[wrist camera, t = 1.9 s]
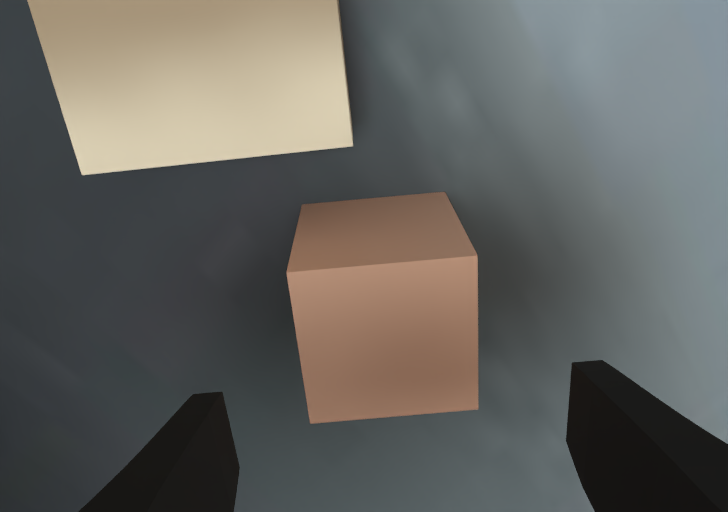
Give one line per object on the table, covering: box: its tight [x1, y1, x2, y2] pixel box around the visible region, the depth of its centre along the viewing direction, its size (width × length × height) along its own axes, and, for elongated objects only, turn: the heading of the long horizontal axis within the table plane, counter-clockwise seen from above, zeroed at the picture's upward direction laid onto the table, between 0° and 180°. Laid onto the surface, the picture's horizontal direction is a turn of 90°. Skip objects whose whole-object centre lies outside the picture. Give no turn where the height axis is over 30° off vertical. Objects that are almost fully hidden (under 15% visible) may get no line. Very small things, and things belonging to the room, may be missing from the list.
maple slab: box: [27, 0, 353, 175], centre depth 14 cm, size 7×7×3 cm
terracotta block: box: [286, 192, 478, 424], centre depth 17 cm, size 4×4×5 cm
